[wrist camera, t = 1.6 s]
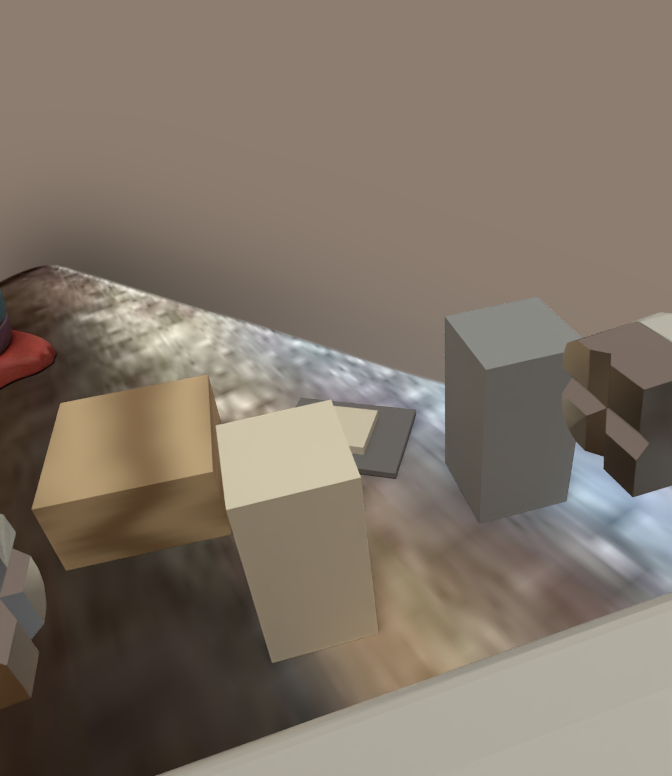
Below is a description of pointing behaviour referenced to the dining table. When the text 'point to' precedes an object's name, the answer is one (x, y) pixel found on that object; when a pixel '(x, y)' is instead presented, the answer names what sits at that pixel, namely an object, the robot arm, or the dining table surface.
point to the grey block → (507, 407)
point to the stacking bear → (20, 351)
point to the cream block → (299, 527)
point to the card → (373, 435)
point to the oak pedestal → (133, 474)
